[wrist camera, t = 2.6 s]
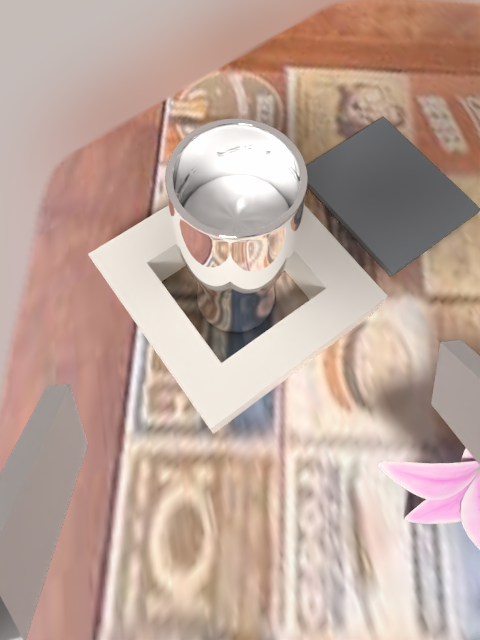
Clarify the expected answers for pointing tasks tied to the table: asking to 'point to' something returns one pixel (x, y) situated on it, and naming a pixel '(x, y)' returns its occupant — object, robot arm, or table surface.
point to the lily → (442, 491)
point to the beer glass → (236, 216)
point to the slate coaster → (388, 195)
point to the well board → (263, 352)
